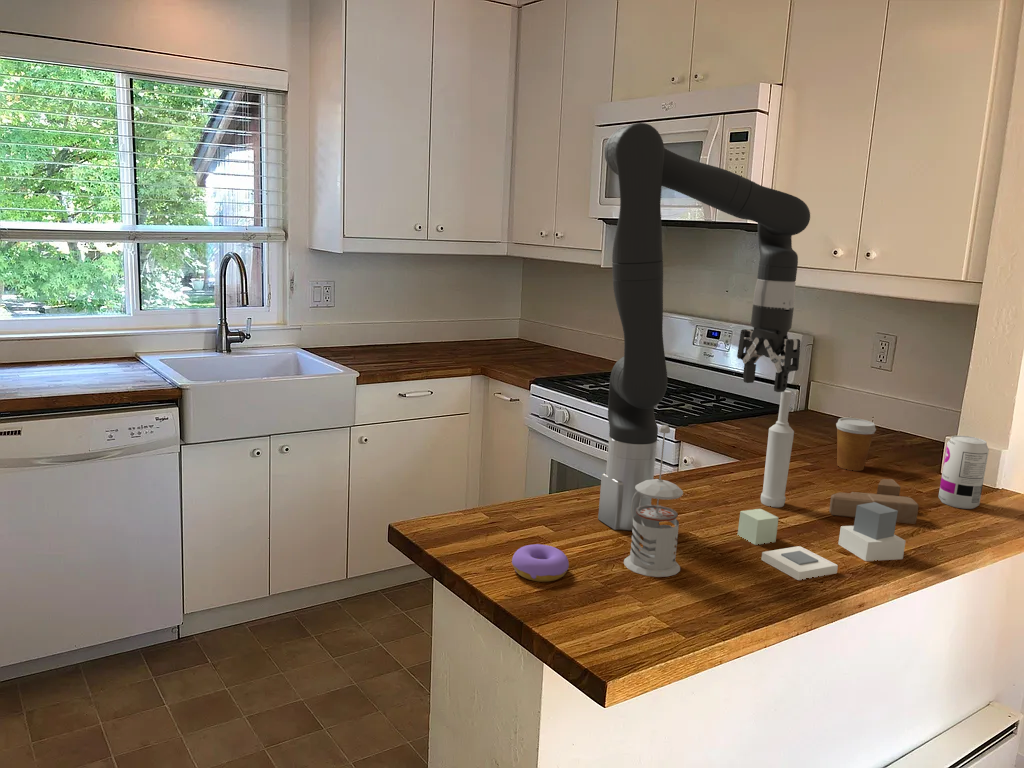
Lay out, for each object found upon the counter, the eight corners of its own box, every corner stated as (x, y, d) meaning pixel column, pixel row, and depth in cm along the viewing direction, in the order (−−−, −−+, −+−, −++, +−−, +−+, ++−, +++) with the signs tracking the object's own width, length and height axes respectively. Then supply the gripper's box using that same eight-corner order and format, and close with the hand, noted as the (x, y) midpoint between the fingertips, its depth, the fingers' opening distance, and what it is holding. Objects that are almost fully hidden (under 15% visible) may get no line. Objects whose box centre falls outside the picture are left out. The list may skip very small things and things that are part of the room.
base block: (865, 563, 151) (868, 542, 150) (837, 545, 159) (840, 526, 158) (902, 560, 153) (905, 540, 152) (873, 544, 161) (876, 524, 160)
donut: (577, 582, 135) (573, 554, 134) (522, 595, 133) (517, 568, 132) (560, 557, 144) (557, 531, 143) (509, 569, 143) (505, 543, 142)
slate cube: (875, 539, 152) (879, 514, 151) (853, 530, 156) (857, 505, 155) (893, 536, 154) (897, 510, 153) (871, 526, 158) (874, 502, 157)
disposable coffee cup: (871, 475, 206) (878, 428, 204) (831, 469, 209) (837, 423, 207) (868, 465, 215) (875, 420, 213) (829, 459, 218) (835, 415, 215)
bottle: (786, 508, 177) (800, 394, 172) (761, 505, 178) (775, 392, 173) (783, 501, 182) (797, 390, 177) (759, 498, 183) (772, 387, 178)
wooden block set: (924, 500, 171) (834, 492, 173) (920, 526, 172) (830, 518, 174) (898, 475, 188) (816, 468, 190) (894, 499, 189) (813, 492, 191)
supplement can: (933, 502, 187) (943, 438, 184) (944, 495, 193) (954, 432, 190) (972, 512, 182) (984, 446, 179) (982, 504, 188) (994, 440, 185)
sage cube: (755, 545, 156) (758, 520, 155) (737, 535, 160) (740, 511, 159) (775, 542, 158) (778, 517, 157) (757, 532, 162) (760, 508, 161)
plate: (798, 580, 141) (799, 570, 140) (761, 559, 149) (762, 550, 148) (836, 573, 145) (838, 563, 144) (798, 553, 153) (799, 544, 152)
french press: (643, 580, 137) (656, 434, 133) (607, 553, 148) (619, 417, 143) (692, 573, 141) (706, 431, 137) (654, 547, 152) (667, 414, 147)
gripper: (733, 299, 163) (724, 380, 166) (785, 308, 150) (775, 395, 153) (762, 300, 166) (753, 379, 169) (816, 308, 154) (805, 394, 157)
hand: (763, 387), depth 161 cm, fingers open, 8 cm apart
